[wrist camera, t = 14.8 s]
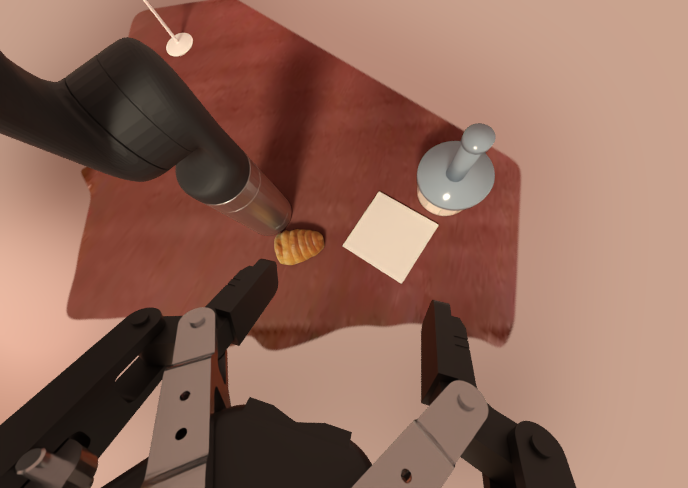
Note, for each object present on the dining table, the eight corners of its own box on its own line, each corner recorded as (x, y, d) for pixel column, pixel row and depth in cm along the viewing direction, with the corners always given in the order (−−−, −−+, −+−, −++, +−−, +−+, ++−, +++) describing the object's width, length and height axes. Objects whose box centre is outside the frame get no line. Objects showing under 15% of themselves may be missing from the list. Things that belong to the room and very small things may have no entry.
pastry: (321, 225, 49) (317, 219, 46) (328, 258, 48) (324, 255, 44) (277, 236, 50) (269, 231, 46) (282, 268, 49) (274, 266, 45)
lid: (403, 188, 42) (412, 152, 32) (439, 134, 44) (459, 82, 33) (468, 224, 40) (501, 198, 29) (504, 165, 41) (549, 119, 30)
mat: (342, 246, 48) (342, 245, 47) (379, 192, 49) (379, 191, 49) (401, 283, 45) (401, 283, 44) (438, 225, 46) (438, 224, 46)
